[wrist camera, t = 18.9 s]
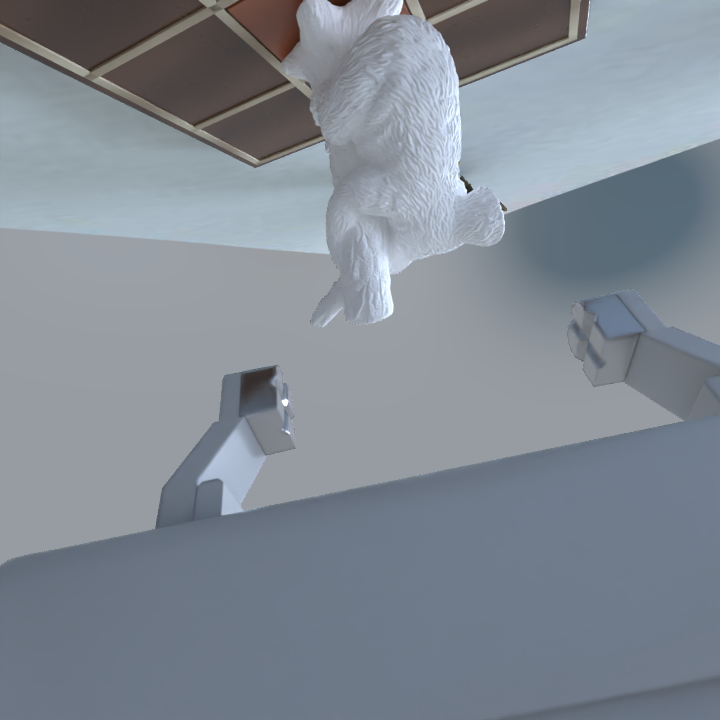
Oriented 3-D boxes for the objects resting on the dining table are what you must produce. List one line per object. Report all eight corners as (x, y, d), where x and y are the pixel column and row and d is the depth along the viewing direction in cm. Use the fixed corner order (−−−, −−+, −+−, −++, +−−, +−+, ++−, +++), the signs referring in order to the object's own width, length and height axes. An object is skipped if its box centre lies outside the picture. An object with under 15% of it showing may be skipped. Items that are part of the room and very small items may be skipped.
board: (581, 15, 25) (586, 40, 25) (251, 150, 33) (255, 170, 33) (666, -826, 7) (686, -724, 7) (-150, -69, 14) (-139, -21, 14)
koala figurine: (279, 93, 24) (331, 337, 24) (210, 3, 18) (283, 339, 18) (454, 34, 22) (509, 297, 22) (451, -91, 16) (529, 283, 16)
